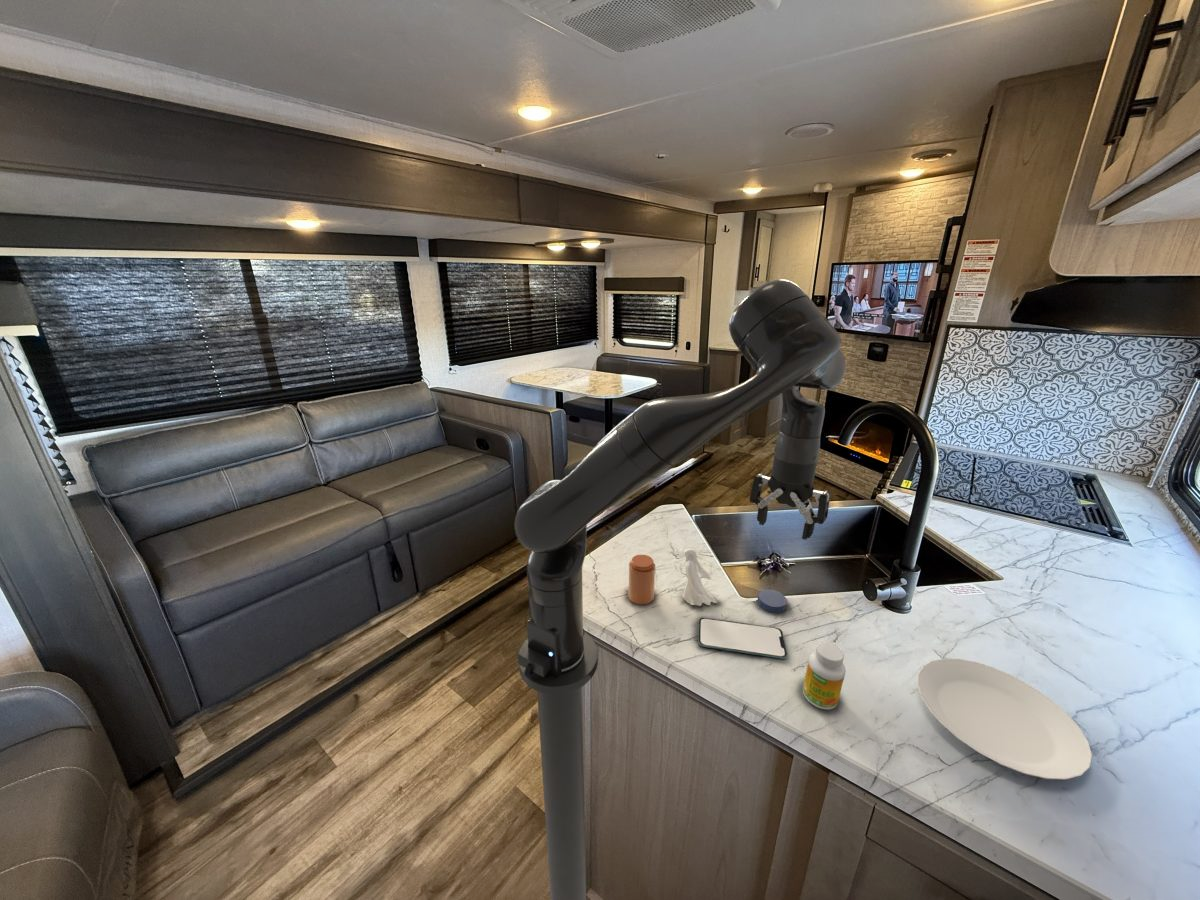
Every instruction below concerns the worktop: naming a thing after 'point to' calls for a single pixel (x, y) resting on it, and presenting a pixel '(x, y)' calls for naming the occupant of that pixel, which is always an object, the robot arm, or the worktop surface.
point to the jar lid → (772, 601)
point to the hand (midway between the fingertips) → (783, 530)
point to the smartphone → (742, 638)
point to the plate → (1004, 719)
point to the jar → (641, 579)
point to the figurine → (695, 581)
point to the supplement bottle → (824, 676)
